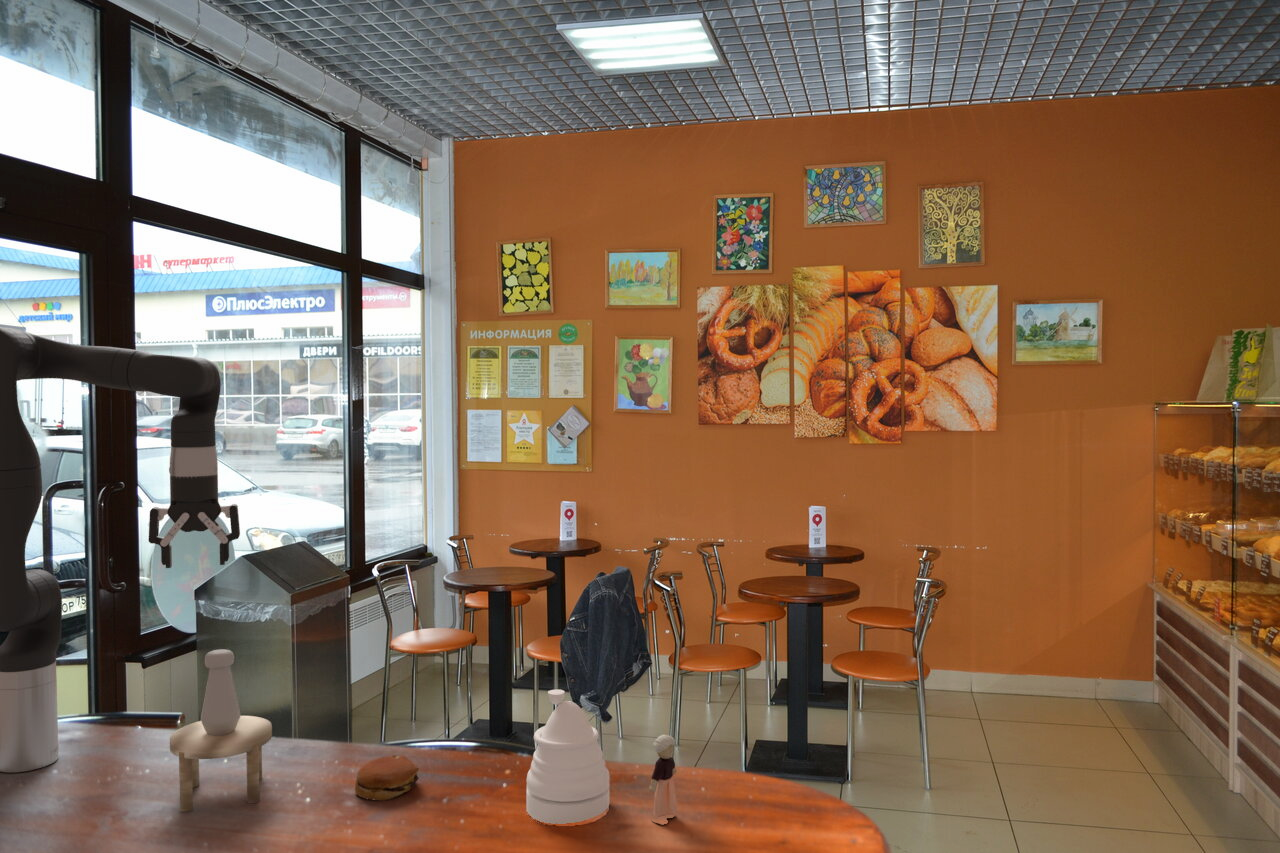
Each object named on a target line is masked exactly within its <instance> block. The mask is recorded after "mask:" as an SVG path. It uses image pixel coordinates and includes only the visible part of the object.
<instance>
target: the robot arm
mask: <svg viewBox="0 0 1280 853" xmlns="http://www.w3.org/2000/svg"><path fill="white" fill-rule="evenodd" d="M41 379H55V380H56V379H57V380H58V379H60V380H69V381H76V382H81V383H86V384H90V385H94V386H98V387H103V388H104V387H105V388H109V389H117V390H125V391H133V392H142V393H143V392H144V393H146V392H148V393H149V392H150V393H152V394H153V393H154V394H158V395H163V396H169V397H173V398H174V397H175V398H179V404H178V411H177V412H176V413H175V414H174V415H173V416H172V418H171V420H170V421H171V422H170V456H169V468H168V472H169V481H170V482H169V494H170V495H169V497H170V503H169V504H170V505H169V506H168V507H166V508H164V507H163V508H162V507H157V506H154V507H152V508H151V509H150V510H149V523H148V527H149V528H148V543H149V544H155V545H158V546H159V547H160V551H161V552H160V555H161V556H160V557H161V558H160V559H161V560H160V561H161V565H162V566H165V569H171V568H172V566H173V558H172V556H173V555H172V554H173V553H172V545H171V542H172V540H173V539H174V538H175V537H176V535H177V534H178V533H179V531H181V532H184V533H191V532H194V531H195V532H205V531H208V530H209V531H210V533H212V534H213V535H214V536H215V538H217V539H218V541H220V543H219V565H220V566H225V564H226V562H228V561H229V559H230V543H231V542H232V541H235V540H238V539H239V538H240V536H241V529H240V517H239V507H238V506H239V505H238V504H236V503H232V504H230V505H224V506H222V505H220V502H219V479H218V478H219V476H218V474H219V473H218V470H219V469H218V466H219V465H218V456H217V448H216V445H217V444H216V416H217V414H218V413H217V412H218V408H219V401H220V396H221V387H222V386H221V376H220V372H219V370H218V368H217V366H216V365H215V363H213V362H212V361H211V360H208V359H206V358H204V357H195V356H194V357H193V356H183V355H181V356H179V355H171V354H170V355H167V354H157V353H153V352H149V351H145V350H139V349H131V348H123V347H122V348H121V347H115V346H114V347H113V346H100V345H98V346H97V345H80V344H73V343H67V342H64V341H63V342H62V341H59V340H58V341H57V340H53V339H50V338H46V337H44V336H41V335H37V334H33V333H30V332H28V331H24V330H22V329H20V328H15V327H5V326H0V632H2V633H3V632H7V633H8V634H7V637H6V638H5V640H4V641H3V643H2V644H1V645H0V772H1V773H22V772H28V771H29V772H30V771H33V770H37V769H40V768H41V769H42V768H44V767H46V766H49V765H51V764H53V763H55V762H56V761H57V760H59V725H58V724H59V721H58V718H59V717H58V690H57V689H58V686H57V683H58V682H57V652H58V648H59V646H60V643H61V640H62V621H63V617H62V616H63V615H62V614H63V599H62V598H63V597H62V590H61V588H60V585H59V582H58V580H57V578H55V576H54V575H53V574H51V573H50V572H49V571H47V570H43V569H40V568H38V569H37V568H35V569H34V568H33V569H26V568H27V567H26V546H27V540H28V536H29V534H30V532H31V529H32V526H33V523H34V521H35V519H36V516H37V513H38V511H39V508H40V504H41V501H42V497H43V478H42V465H41V458H40V454H39V451H38V448H37V446H36V443H35V441H34V439H33V437H32V435H31V434H30V432H29V430H28V428H27V426H26V424H25V422H24V420H23V418H22V414H21V412H20V406H19V402H18V401H19V400H18V384H17V383H18V381H22V380H41ZM221 513H223V514H224V515H225V517H226V518H227V519H230V532H229V533H226V532H225V530H224V529H223V528H222V526H221V525H220V524H219V523H218V522H217V521H216V520H217V519H218V518H219V516H220V515H221ZM166 515H167V516H168V517H169V518H170V520H171V521H172V523H174V524H173V526H172V527H171V528H170V529H169V531H168V532H167V533H166V534H165V536H160V534H159V533H160V530H159V529H160V521H163V520H164V518H165V516H166Z"/></svg>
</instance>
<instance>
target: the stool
mask: <svg viewBox="0 0 1280 853" xmlns="http://www.w3.org/2000/svg"><path fill="white" fill-rule="evenodd" d="M272 737H273V726H272V722H271V721H270V720H268V719H266V718H263V717H259V716H254V715H240V719H239V721H238V724H237V726H236V729H235V730H234V731H233V732H231V733H230V734H226V735H220V736H212V735H207V733H206V731H205V729H204V726H203V724H202V722H201V720H198V721H195V722H192V723H189V724H186V725H184V726H182V727H180V728H179V729H177V730H174V732H172V734H171V735H170V736H169V750H170V753H171V754H173V755H174V756H176V757H178V769H179V770H178V771H179V773H178V775H179V776H178V777H179V811H180V812H181V813H186V812H187V813H188V812H190V811H193V809H194V798H193V797H194V794H193V793H194V792H193V791H194V790H193V788H197V787H199V786H200V760H213V759H222V758H229V757H234V756H238V755H242V754H245V755H246V796H247V797H246V799H247V800H246V802H247V803H248V804H255V803H258V802H260V800H261V798H260V796H261V795H260V779H262V778H263V750H262V749H263V748H262V747H263V746H265V745H266V744H267V743H269V742H270V741H271V739H272ZM261 777H262V778H261ZM259 778H260V779H259Z"/></svg>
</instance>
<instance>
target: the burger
mask: <svg viewBox="0 0 1280 853" xmlns="http://www.w3.org/2000/svg"><path fill="white" fill-rule="evenodd" d="M419 770H420V768H419V767H418V765H417V764H416V763H414V762H413V761H412V760H411V759H409V758H408V757H406V756H405V755H396V754H394V755H389V756H382V757H377V758H374V759H372V760H370V761H368V762H366V763H365V764H363V765H362V766H361V767H360V768H359V769H358V771H357V773H356V779H355V787H354V791H355V794H356V795H357V796H359V797H360V798H361V797H363V798H362V799H364V798H368V799H375V800H383V801H387V800H386V799H389V800H391V799H390V798H392V799H394V798H393V797H395V798H397V797H399V796H401V795H403V794H404V792H405V793H407V792H409V791H410V790H411V789H412V788H413V787H414V786H415V785H416V783H417V781H418V780H419V777H418V772H419ZM398 795H399V796H398ZM396 796H397V797H396ZM368 799H367V800H368Z"/></svg>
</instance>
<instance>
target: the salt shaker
mask: <svg viewBox="0 0 1280 853" xmlns="http://www.w3.org/2000/svg"><path fill="white" fill-rule="evenodd" d="M234 662H235V654H234V652H233V651H232V650H230V649H224V648H223V649H222V648H221V649H214V650H211V651H208V652H207V653H206V654H205V656H204V665H205V667H206V668H207V669H209V670H208V674H207V682H206V688H205V693H204V699H203V703H202V709H201V715H200V721H201V722H202V724H203V726H204V729H205V731H206V733H207V735H212V736H220V735H226V734H230V733H231V732H233V731H234V730H235V729H236V726H237V724H238V721H239V719H240V716H242V715H241V710H240V705H239V702H238V696H237V692H236V686H235V683H234V678H233V673H232V669H231V666H233V664H234Z"/></svg>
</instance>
